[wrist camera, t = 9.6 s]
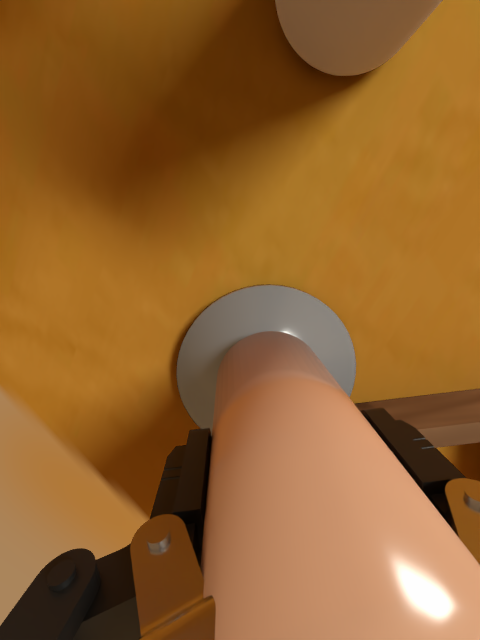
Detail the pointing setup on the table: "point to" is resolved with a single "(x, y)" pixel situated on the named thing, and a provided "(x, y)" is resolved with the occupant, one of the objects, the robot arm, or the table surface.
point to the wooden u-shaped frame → (438, 415)
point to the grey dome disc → (249, 318)
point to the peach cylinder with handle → (320, 515)
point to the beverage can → (350, 31)
